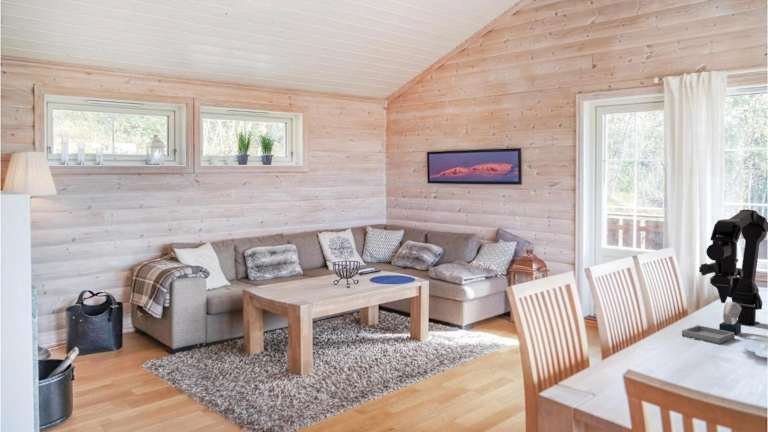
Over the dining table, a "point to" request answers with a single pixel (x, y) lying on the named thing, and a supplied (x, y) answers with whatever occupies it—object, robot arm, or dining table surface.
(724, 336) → the tray
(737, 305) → the watch
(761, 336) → the dining table surface
